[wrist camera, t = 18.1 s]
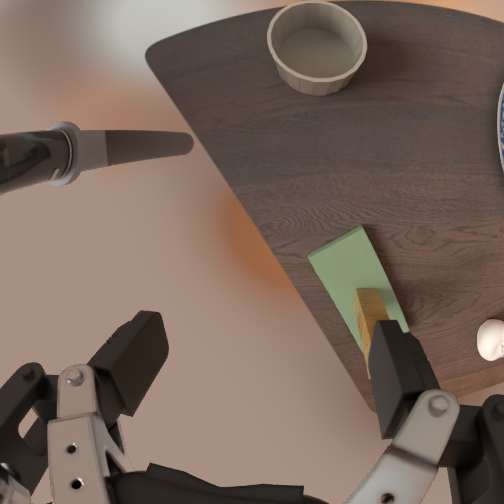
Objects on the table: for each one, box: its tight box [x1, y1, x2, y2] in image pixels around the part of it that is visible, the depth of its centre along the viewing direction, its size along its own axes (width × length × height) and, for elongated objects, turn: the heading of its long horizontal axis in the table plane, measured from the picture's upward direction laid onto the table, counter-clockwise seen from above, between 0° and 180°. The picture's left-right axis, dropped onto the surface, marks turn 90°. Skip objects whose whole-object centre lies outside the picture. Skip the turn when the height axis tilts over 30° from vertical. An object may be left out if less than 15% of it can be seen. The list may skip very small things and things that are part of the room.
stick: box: [354, 288, 390, 379], centre depth 31 cm, size 3×3×14 cm
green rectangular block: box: [308, 225, 409, 353], centre depth 38 cm, size 18×8×2 cm, turn 34°
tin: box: [267, 0, 367, 96], centre depth 26 cm, size 10×10×8 cm
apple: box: [477, 319, 504, 361], centre depth 33 cm, size 7×7×8 cm
